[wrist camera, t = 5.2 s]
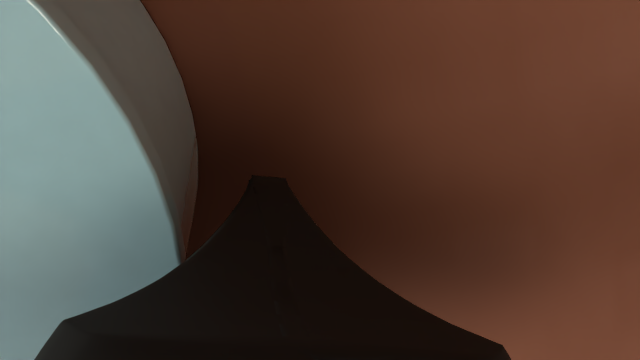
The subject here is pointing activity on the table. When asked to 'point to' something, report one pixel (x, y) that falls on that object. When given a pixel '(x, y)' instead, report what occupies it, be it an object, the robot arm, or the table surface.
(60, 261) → the pot
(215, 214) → the table surface
